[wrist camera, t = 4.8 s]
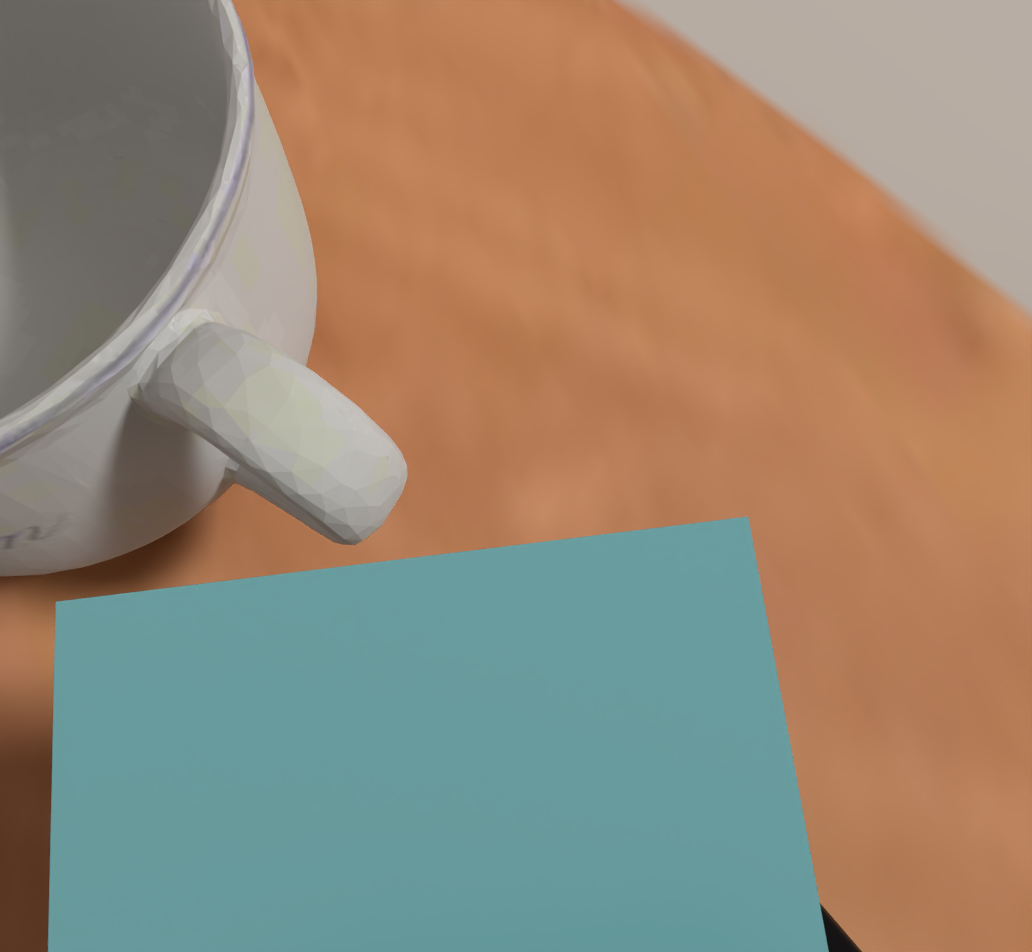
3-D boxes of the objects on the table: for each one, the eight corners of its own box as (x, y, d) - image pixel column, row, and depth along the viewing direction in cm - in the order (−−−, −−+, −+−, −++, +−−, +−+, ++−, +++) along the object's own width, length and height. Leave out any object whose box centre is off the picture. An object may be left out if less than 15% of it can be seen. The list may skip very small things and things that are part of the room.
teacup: (-220, 363, 21) (-676, 144, 13) (155, 54, 23) (-60, -298, 15) (175, 842, 18) (-127, 916, 10) (579, 443, 20) (581, 247, 12)
